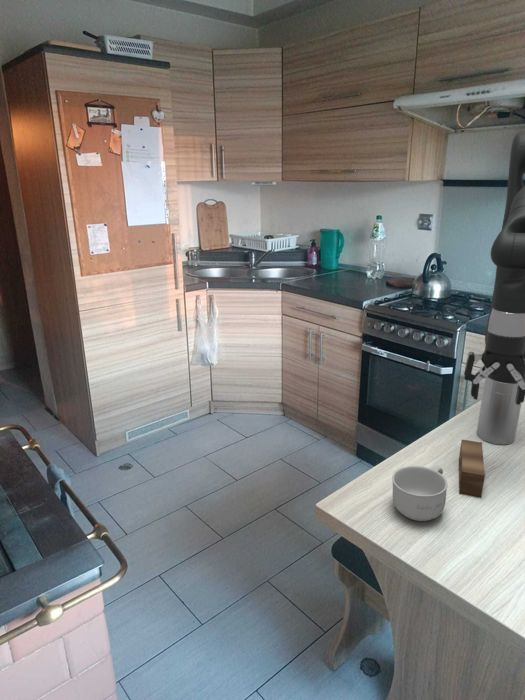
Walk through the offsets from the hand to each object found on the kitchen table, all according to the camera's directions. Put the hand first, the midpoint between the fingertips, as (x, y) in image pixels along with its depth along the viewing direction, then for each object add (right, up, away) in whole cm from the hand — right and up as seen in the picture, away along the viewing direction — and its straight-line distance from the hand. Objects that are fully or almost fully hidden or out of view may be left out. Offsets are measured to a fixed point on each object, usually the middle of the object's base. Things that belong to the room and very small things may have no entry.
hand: (495, 400), depth 109 cm
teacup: (-18, -23, -5) cm, 29 cm away
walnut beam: (-4, -19, +5) cm, 20 cm away
